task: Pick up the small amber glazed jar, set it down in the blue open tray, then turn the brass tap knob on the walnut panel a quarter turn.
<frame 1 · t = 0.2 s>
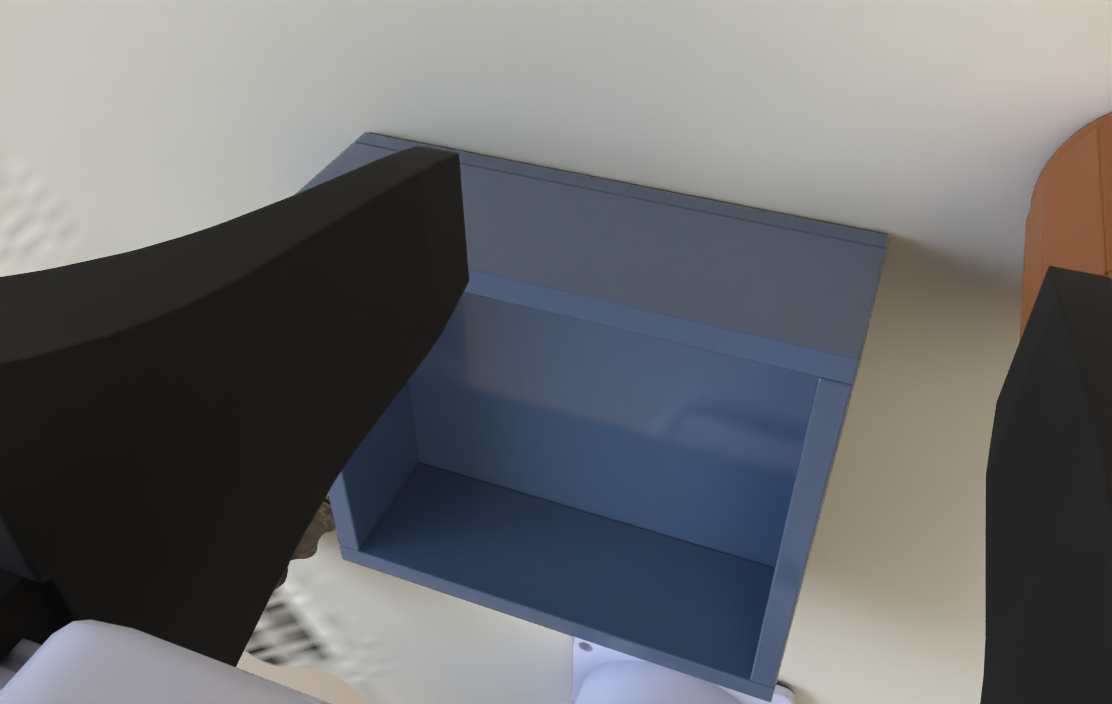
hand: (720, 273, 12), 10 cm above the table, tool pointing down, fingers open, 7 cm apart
blue open tray: (600, 369, 28), on the table
rhino figurine: (191, 419, 38), on the table
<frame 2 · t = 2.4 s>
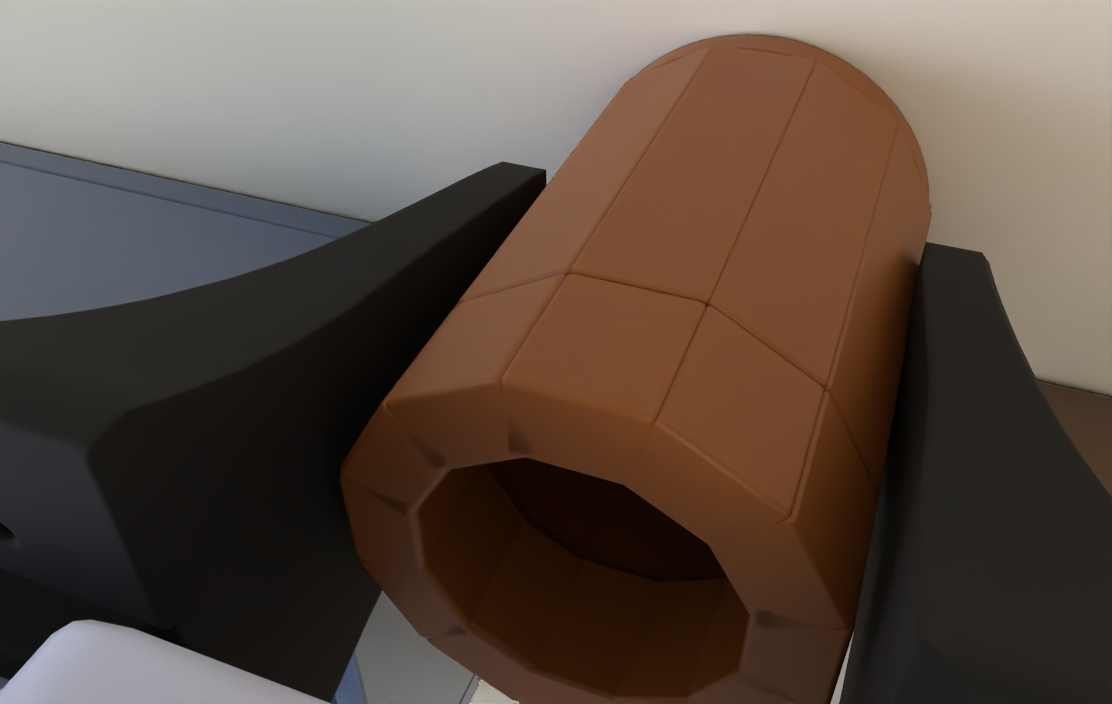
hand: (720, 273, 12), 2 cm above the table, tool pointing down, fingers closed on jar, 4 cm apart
blue open tray: (201, 412, 22), on the table
jar: (751, 196, 14), on the table, touching gripper
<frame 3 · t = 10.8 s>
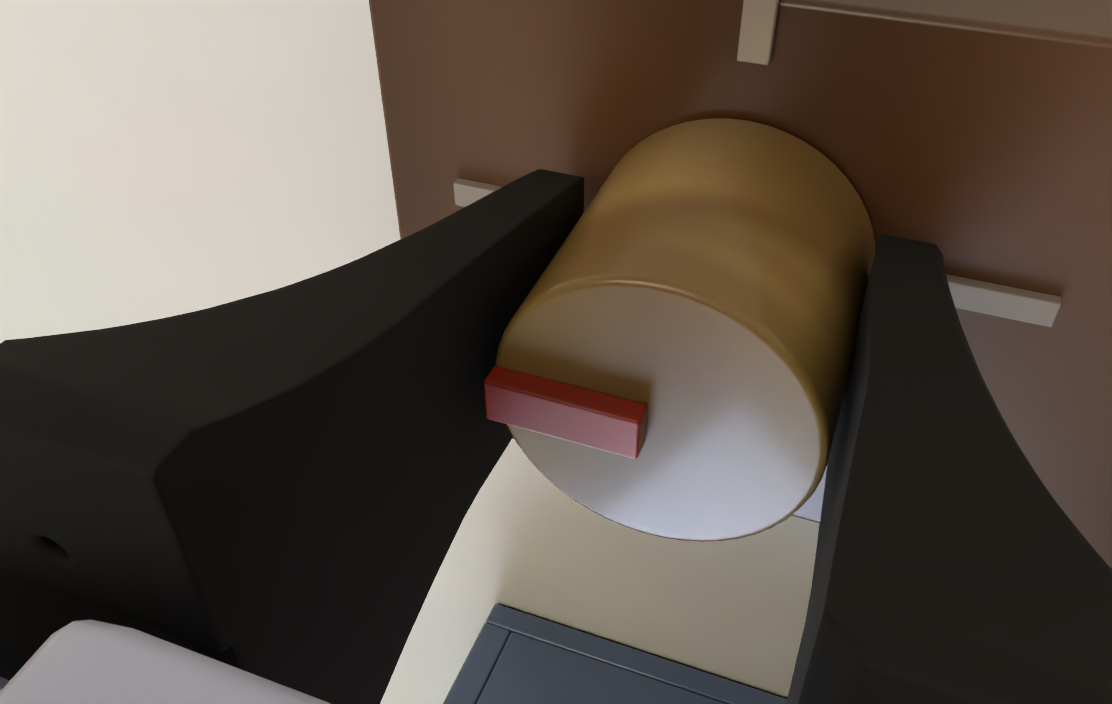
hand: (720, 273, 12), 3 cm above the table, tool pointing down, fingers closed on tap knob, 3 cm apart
tap knob: (691, 332, 11), point 4 cm above the table, hinge at -0.2°, touching gripper
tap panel: (831, 213, 15), on the table
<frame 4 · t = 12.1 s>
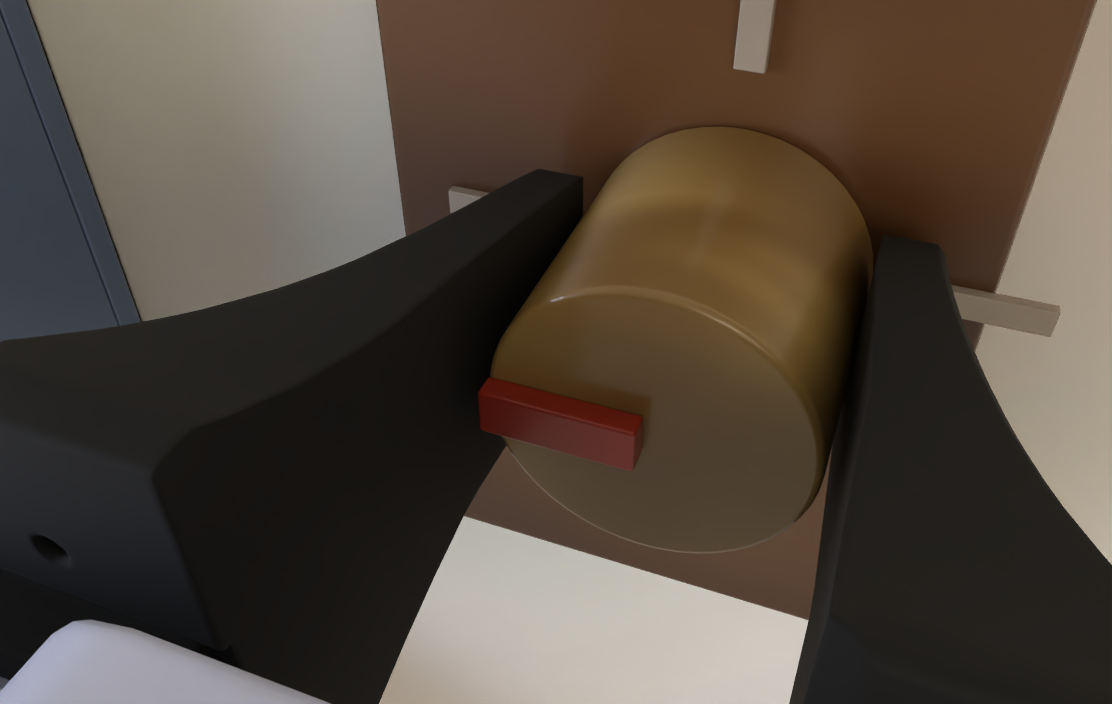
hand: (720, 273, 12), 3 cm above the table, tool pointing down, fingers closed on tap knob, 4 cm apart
tap knob: (687, 342, 11), point 4 cm above the table, hinge at 89.9°, touching gripper
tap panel: (709, 209, 15), on the table
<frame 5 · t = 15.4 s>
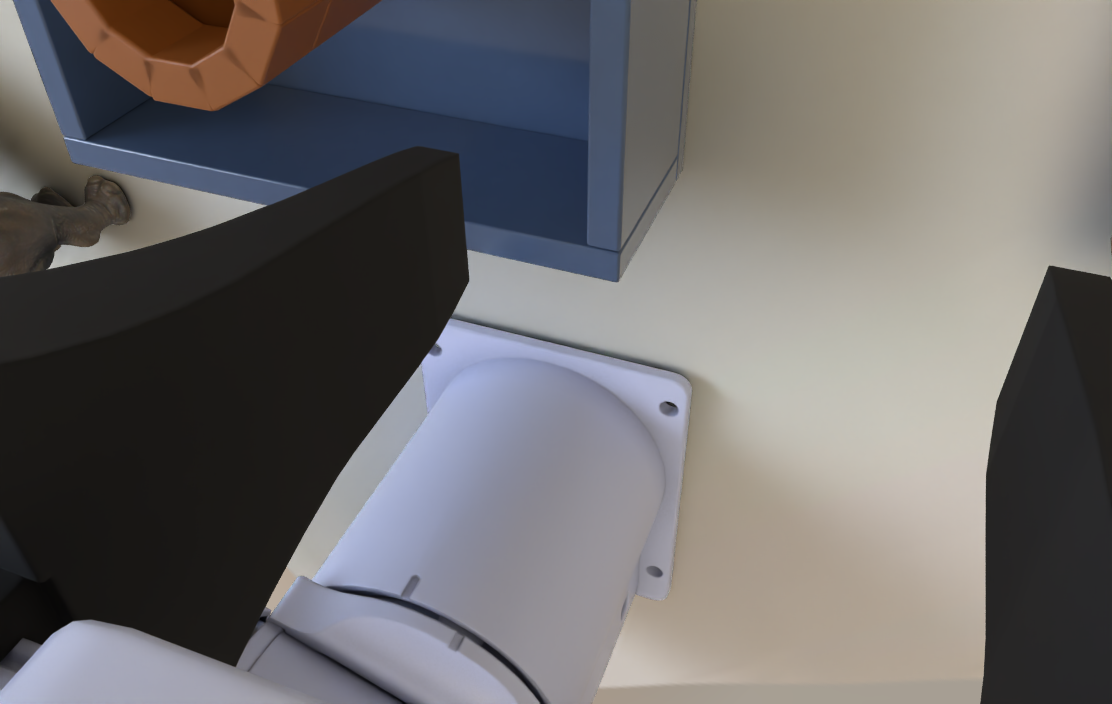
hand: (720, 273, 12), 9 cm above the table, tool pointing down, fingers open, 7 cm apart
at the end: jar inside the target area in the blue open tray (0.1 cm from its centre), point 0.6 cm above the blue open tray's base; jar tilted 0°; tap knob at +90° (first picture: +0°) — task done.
